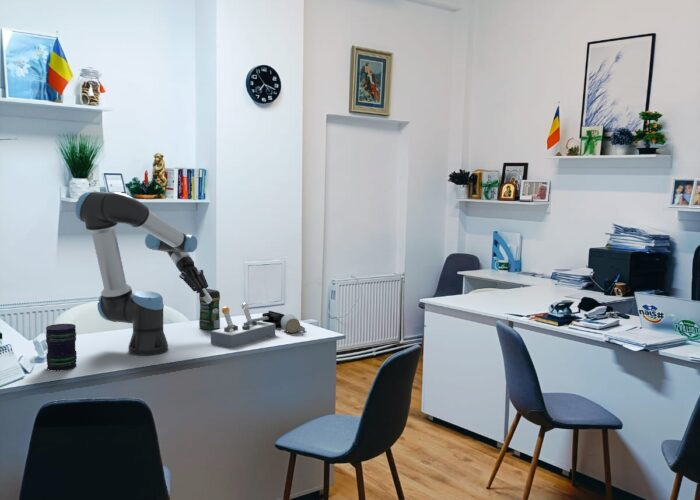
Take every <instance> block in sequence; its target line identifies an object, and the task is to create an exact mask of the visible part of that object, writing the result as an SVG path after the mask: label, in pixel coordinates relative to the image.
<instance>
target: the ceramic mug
mask: <svg viewBox="0 0 700 500" xmlns="http://www.w3.org/2000/svg"><path fill="white" fill-rule="evenodd" d="M281 326H282V327H281V328H282V329H284V331H286V332H288V333H291V334H295V333H297V332H298V331H301V332H305V330H306V327H304V326H302V325H301V323H300V320H299V319H298V318H297V317H295V315H294V314H291V313H287V314H284V316H283V317H282V319H281Z"/></svg>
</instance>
